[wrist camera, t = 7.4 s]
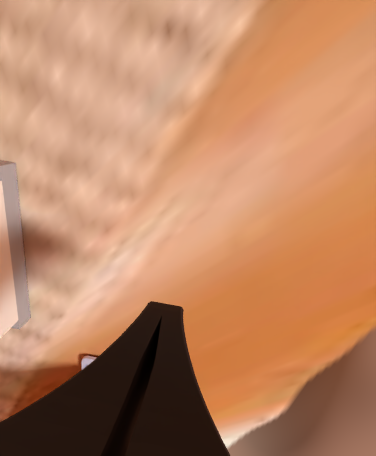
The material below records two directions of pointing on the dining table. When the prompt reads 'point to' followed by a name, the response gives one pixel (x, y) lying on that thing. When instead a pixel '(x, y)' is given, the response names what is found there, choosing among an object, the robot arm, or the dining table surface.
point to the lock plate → (11, 254)
